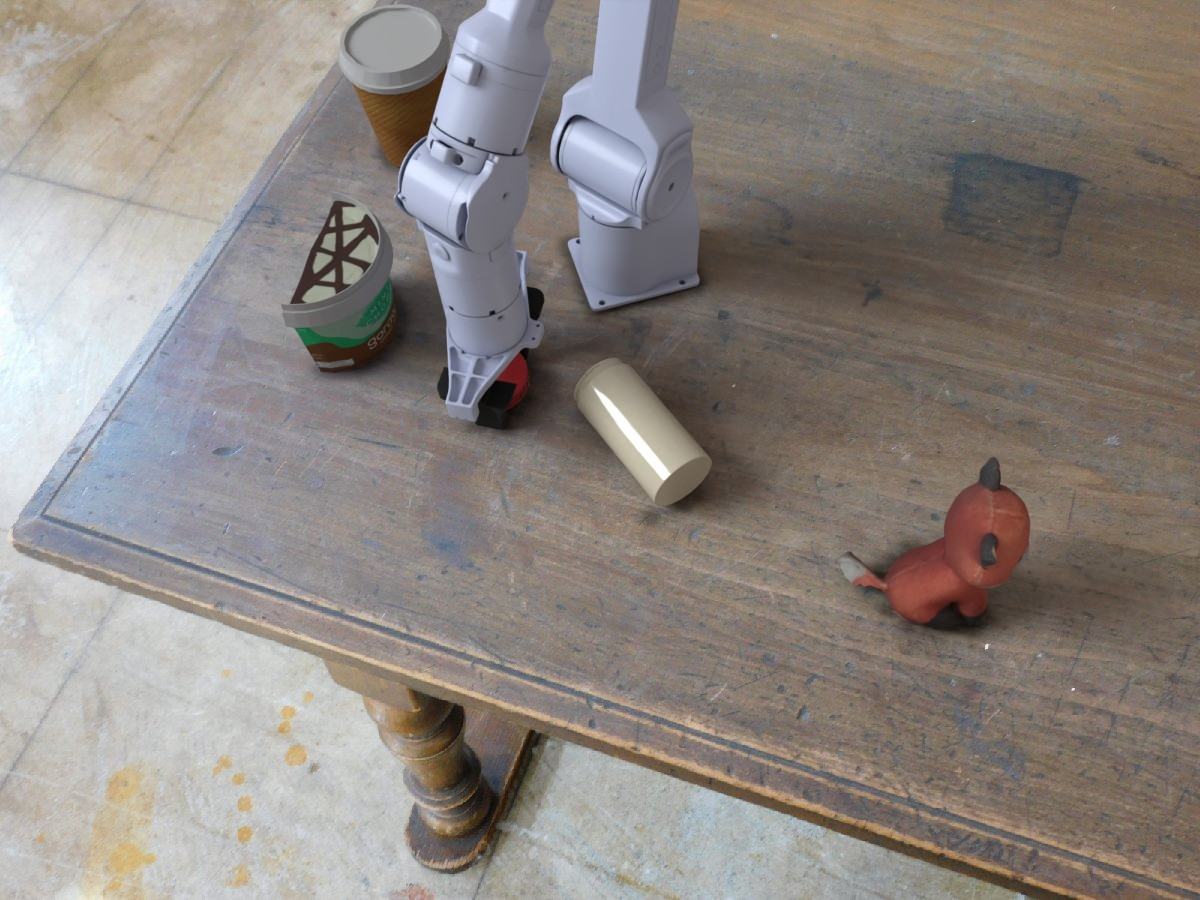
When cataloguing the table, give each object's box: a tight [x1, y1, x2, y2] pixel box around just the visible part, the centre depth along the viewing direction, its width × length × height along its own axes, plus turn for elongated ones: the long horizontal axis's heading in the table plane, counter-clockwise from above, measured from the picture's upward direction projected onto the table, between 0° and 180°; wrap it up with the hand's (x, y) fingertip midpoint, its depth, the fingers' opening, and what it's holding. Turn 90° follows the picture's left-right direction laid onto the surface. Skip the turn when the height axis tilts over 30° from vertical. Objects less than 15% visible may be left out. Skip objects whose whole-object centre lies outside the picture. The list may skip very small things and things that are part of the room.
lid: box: [496, 353, 531, 411], centre depth 85 cm, size 6×6×1 cm
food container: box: [280, 190, 399, 373], centre depth 85 cm, size 12×6×10 cm, turn 168°
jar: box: [573, 357, 713, 507], centre depth 80 cm, size 5×5×11 cm
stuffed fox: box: [837, 456, 1031, 631], centre depth 71 cm, size 8×11×12 cm
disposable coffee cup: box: [337, 3, 451, 169], centre depth 95 cm, size 10×10×12 cm
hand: (502, 393), depth 86 cm, fingers closed on lid, 6 cm apart
